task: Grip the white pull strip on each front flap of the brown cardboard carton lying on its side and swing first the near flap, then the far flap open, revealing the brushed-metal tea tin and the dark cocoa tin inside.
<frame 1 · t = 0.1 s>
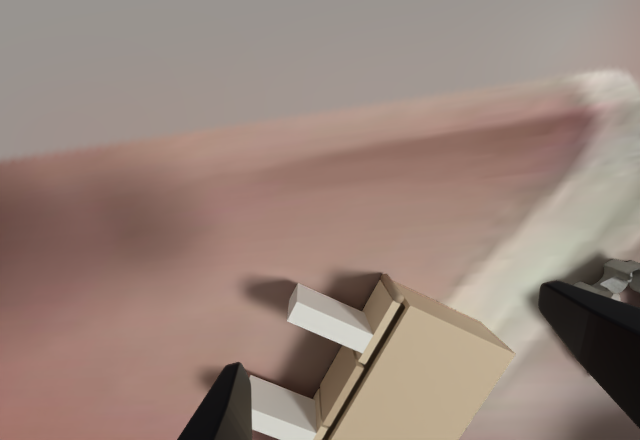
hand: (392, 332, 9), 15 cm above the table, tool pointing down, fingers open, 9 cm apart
egg carton: (612, 311, 27), on the table
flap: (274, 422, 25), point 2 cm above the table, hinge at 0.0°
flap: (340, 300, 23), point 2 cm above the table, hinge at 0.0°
carton: (389, 381, 27), on the table
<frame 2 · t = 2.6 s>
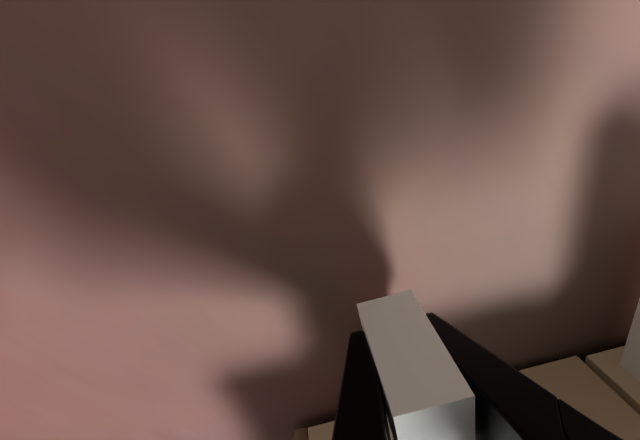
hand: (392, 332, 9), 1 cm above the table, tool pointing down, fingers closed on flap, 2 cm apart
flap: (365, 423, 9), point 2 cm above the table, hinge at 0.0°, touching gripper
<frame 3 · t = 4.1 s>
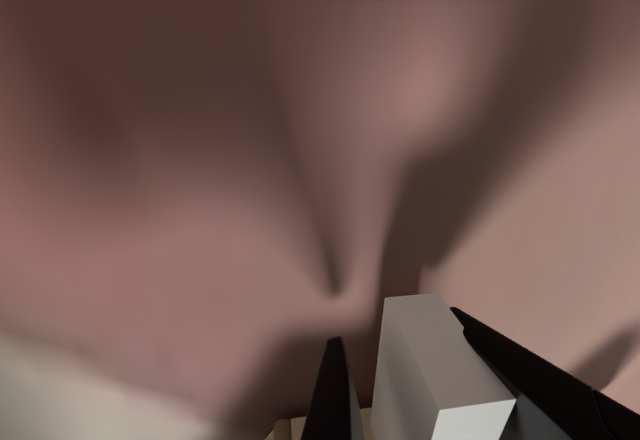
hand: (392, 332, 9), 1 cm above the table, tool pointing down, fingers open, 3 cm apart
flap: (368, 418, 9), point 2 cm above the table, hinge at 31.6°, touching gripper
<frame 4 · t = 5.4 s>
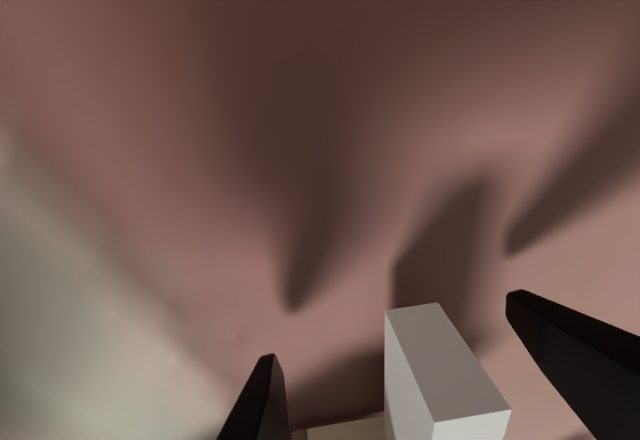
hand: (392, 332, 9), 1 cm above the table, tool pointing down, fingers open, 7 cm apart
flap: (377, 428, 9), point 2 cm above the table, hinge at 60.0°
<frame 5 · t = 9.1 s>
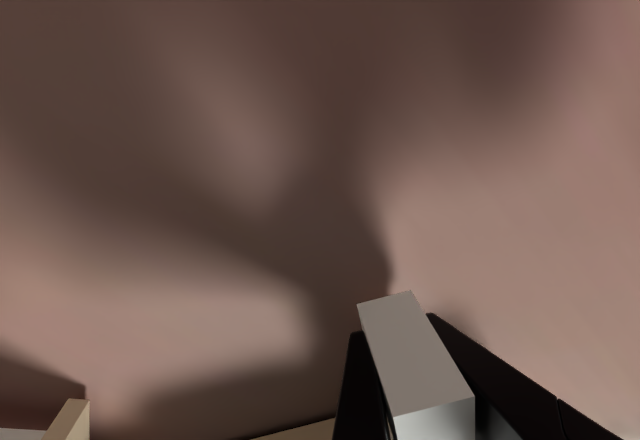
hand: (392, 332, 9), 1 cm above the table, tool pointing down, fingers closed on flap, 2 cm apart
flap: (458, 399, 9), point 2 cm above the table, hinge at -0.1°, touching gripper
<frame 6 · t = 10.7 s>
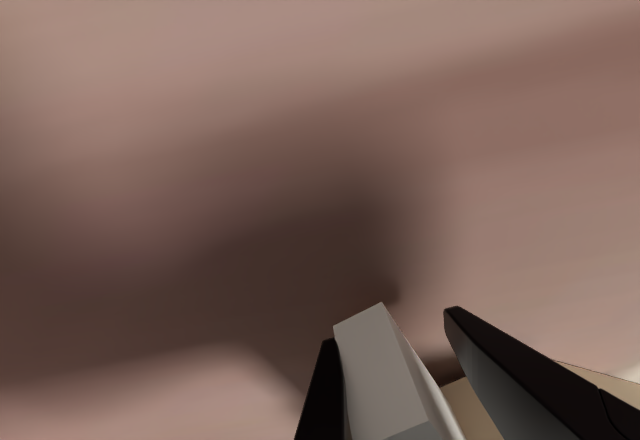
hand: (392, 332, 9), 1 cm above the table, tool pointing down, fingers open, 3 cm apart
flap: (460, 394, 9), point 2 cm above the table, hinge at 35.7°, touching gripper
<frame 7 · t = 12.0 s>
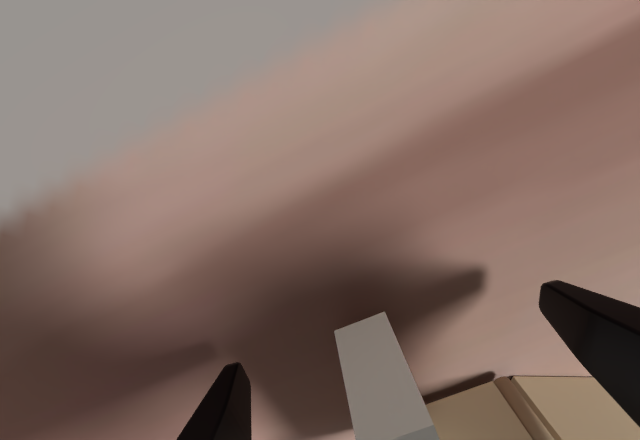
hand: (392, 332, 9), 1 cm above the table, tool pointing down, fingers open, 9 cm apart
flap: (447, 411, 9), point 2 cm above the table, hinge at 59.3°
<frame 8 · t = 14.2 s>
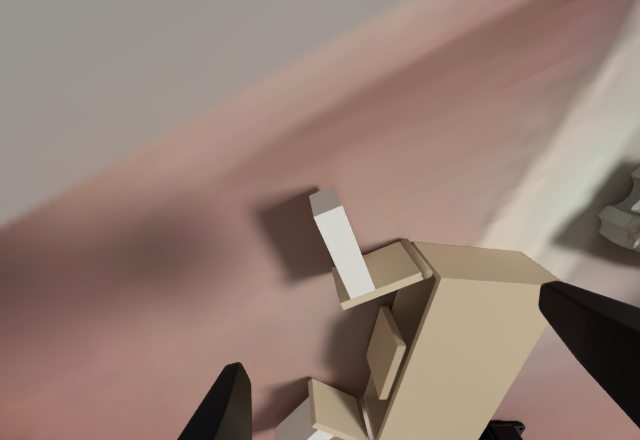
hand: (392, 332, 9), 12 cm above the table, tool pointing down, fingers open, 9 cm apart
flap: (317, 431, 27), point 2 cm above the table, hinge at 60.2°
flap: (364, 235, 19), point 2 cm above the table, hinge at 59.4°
carton: (434, 332, 26), on the table
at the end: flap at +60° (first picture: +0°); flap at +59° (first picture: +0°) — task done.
